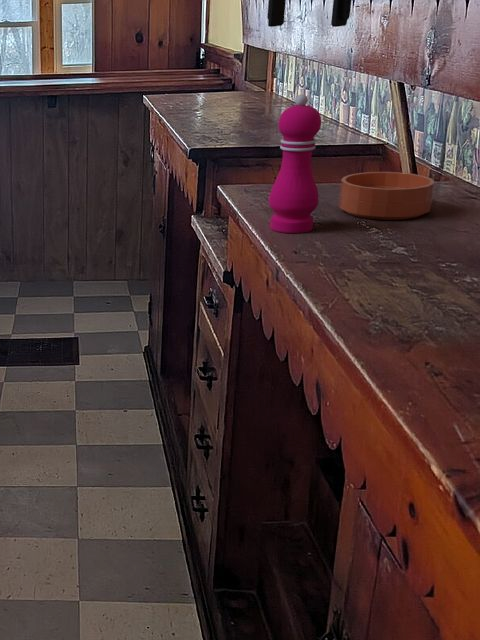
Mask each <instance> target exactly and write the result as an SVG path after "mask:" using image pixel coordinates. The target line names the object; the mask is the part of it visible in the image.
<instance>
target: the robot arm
mask: <svg viewBox="0 0 480 640" xmlns="http://www.w3.org/2000/svg"><path fill="white" fill-rule="evenodd" d="M286 2H287V0H268V3H267V21H268V22H267V26H268V27H271V28H272V27H273V28H274V27H282V26H284V23H285V14H286V4H287V3H286ZM351 6H352V0H333V1H332V12H331V20H330V25H331V27H333V28H338V27H339V28H340V27H346V26H347V24H348V20H349V19H350V17H351V8H352V7H351Z"/></svg>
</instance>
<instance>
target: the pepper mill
mask: <svg viewBox="0 0 480 640" xmlns="http://www.w3.org/2000/svg"><path fill="white" fill-rule="evenodd" d="M294 102H295V105H292V106H289V107H288V108H286V109H285V110H284V111H283V112H281V114H280V117H279V118H278V125H277V126H278V131H279V133H280V134H281V135H282V138H281V139H280V143H281V145H280V146H279V149H280V150H281V151H282V160H281V166H280V170H279V172H278V174H277V176H276V179H275V181H274V183H273V185H272V186H271V189H270V192H269V197H268V206H269V208H270V209H271V210H272V211H273V213H274V214H273V215H271V217H270V225H269V226H270V229H271V230H272V231H274V232H277V233H282V234H302V233H308V232H311V231H312V230H313V228H314V220H315V219H314V217H313V216H312V215H311V214H312V213H313V212H314V211H315V210H316V209H317V208H318V206H319V200H320V199H319V195H320V194H319V190H318V186H317V184H316V181H315V178H314V174H313V171H312V170H313V169H312V156H313V151H314V150H316V148H317V147H316V142H317V140H316V139H315V136H316V135H317V134H318V133H319V132H320V130H321V127H322V117H321V113H320V112H319V111H318V109H316V108H315V107H313V106H311V105H307V104H308V102H309V98H308V96H307V95H306V94H305V93H300V94H298V95H296V97H295V99H294Z"/></svg>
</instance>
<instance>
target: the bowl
mask: <svg viewBox="0 0 480 640" xmlns="http://www.w3.org/2000/svg"><path fill="white" fill-rule="evenodd" d="M435 182H436V181H435V180H434V179H433V178H431V177H428V176H425V175H420V174H416V173H407V172H398V171H397V172H396V171H370V172H369V171H368V172H367V171H366V172H358V173H352V174H348V175H345V176H343V177H342V178H341V180H340V189H339V191H340V192H339V199H338V207H339V208H340V210H342V211H344V212H346V213H347V214H349V215H352V216H355V217H358V218H363V219H370V220H382V221H383V220H384V221H385V220H386V221H389V220H390V221H394V220H395V221H399V220H410V219H415V218H419V217H421V216H422V215H425V214H428V213H429V212H431V209H432V204H433V197H434V189H435Z"/></svg>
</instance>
